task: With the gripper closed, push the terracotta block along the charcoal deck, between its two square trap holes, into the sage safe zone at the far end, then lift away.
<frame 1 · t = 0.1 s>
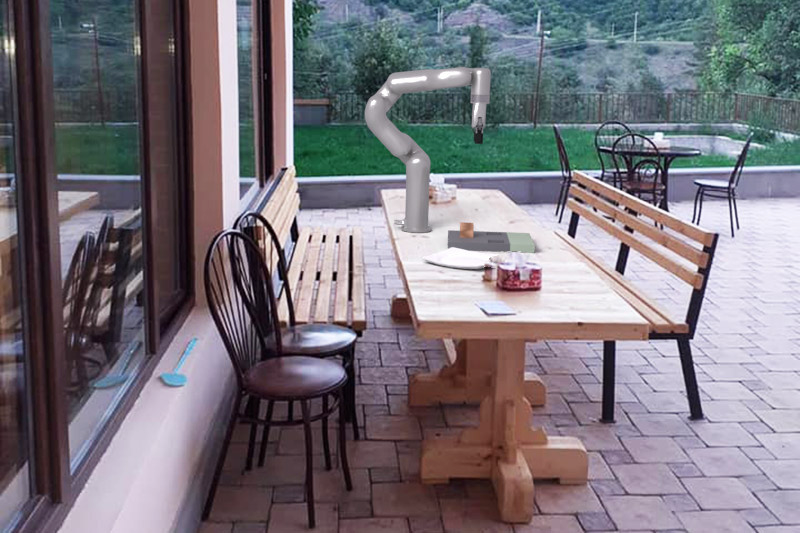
hand: (478, 142, 365), 37 cm above the table, tool pointing down, fingers open, 9 cm apart
plate: (464, 264, 316), on the table
terracotta block: (466, 236, 347), point 3 cm above the table, touching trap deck
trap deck: (489, 245, 348), on the table
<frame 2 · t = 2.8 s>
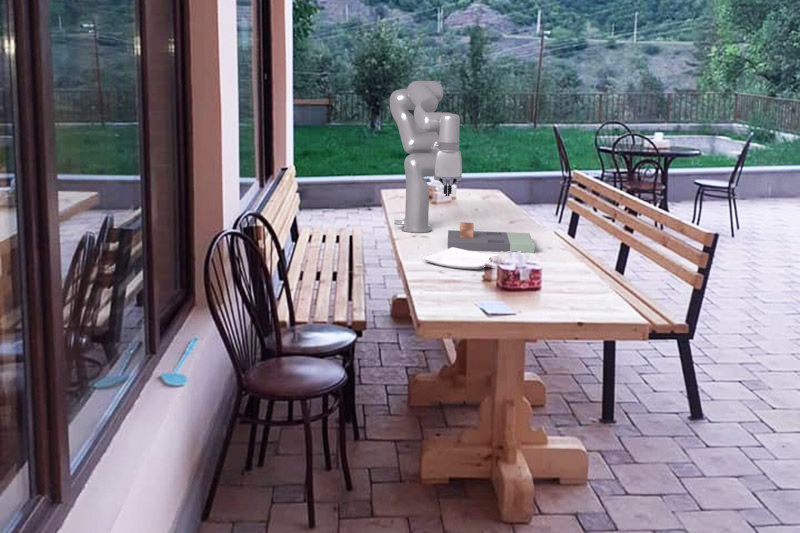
hand: (447, 195, 344), 19 cm above the table, tool pointing down, fingers closed
nothing on the table moved.
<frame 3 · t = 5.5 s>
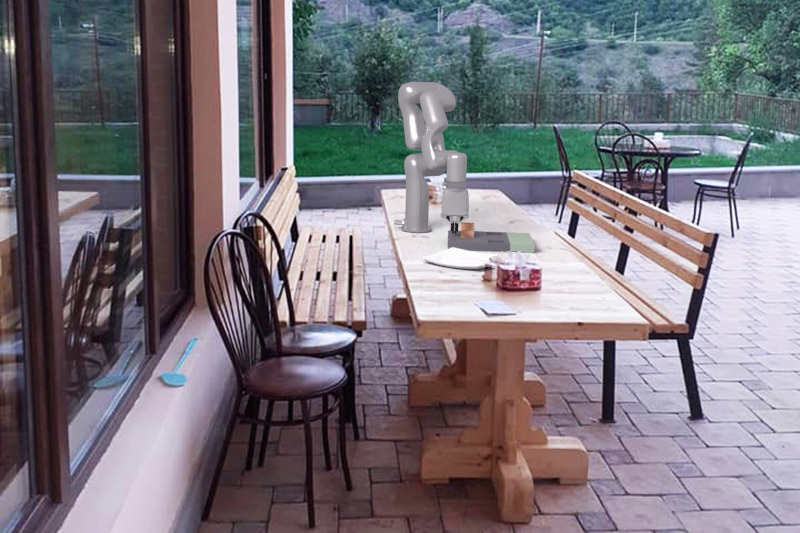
hand: (454, 233, 347), 4 cm above the table, tool pointing down, fingers closed
terracotta block: (467, 236, 347), point 3 cm above the table, touching gripper, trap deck
everything else where it was.
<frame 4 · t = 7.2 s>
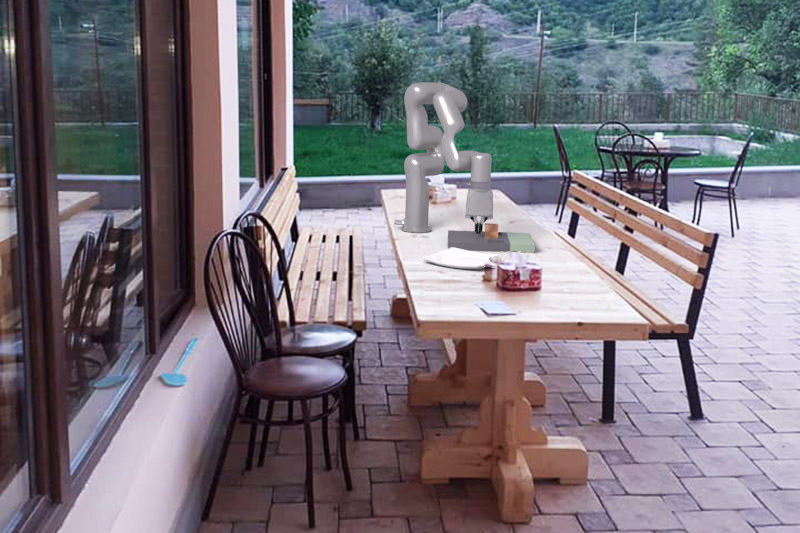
hand: (478, 233, 347), 4 cm above the table, tool pointing down, fingers closed
terracotta block: (491, 237, 347), point 3 cm above the table, touching gripper, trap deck
everything else where it was.
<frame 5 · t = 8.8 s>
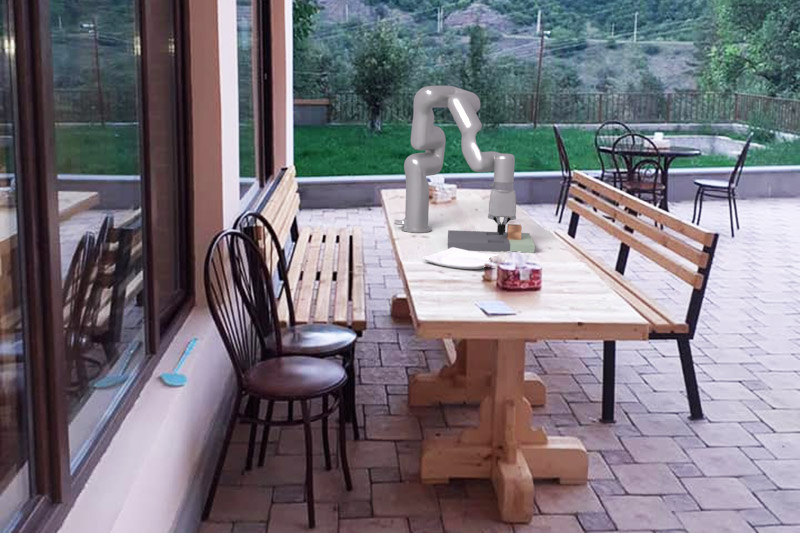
hand: (501, 234, 346), 4 cm above the table, tool pointing down, fingers closed
terracotta block: (513, 238, 346), point 3 cm above the table, touching gripper, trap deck
everything else where it was.
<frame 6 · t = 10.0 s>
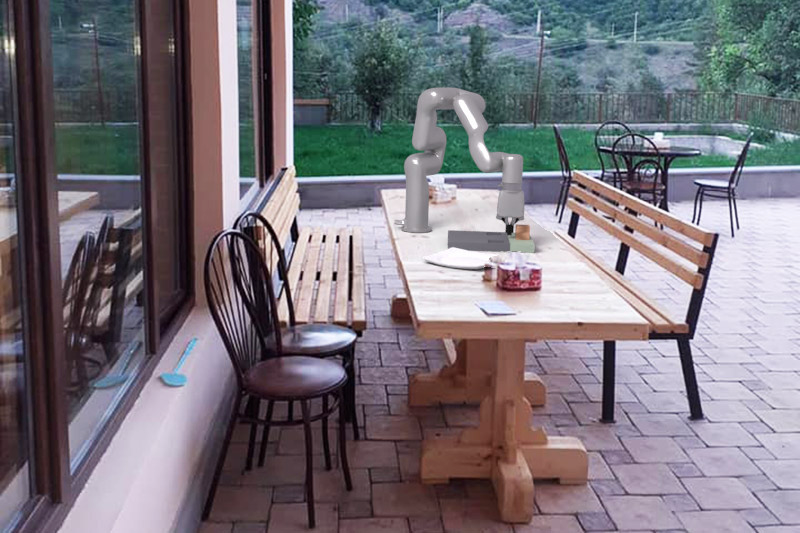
hand: (509, 234, 346), 4 cm above the table, tool pointing down, fingers closed
terracotta block: (522, 238, 346), point 3 cm above the table, touching gripper, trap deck
everything else where it was.
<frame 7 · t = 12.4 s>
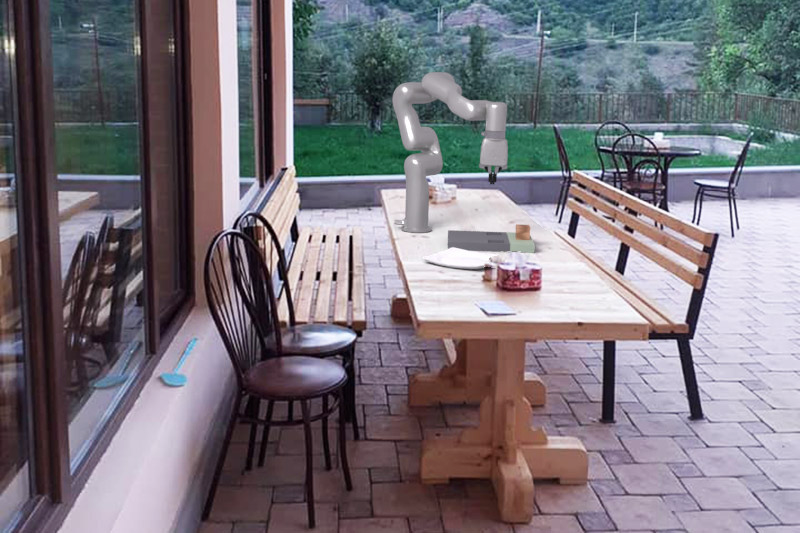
hand: (492, 183, 345), 23 cm above the table, tool pointing down, fingers closed
terracotta block: (522, 238, 346), point 3 cm above the table, touching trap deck
everything else where it was.
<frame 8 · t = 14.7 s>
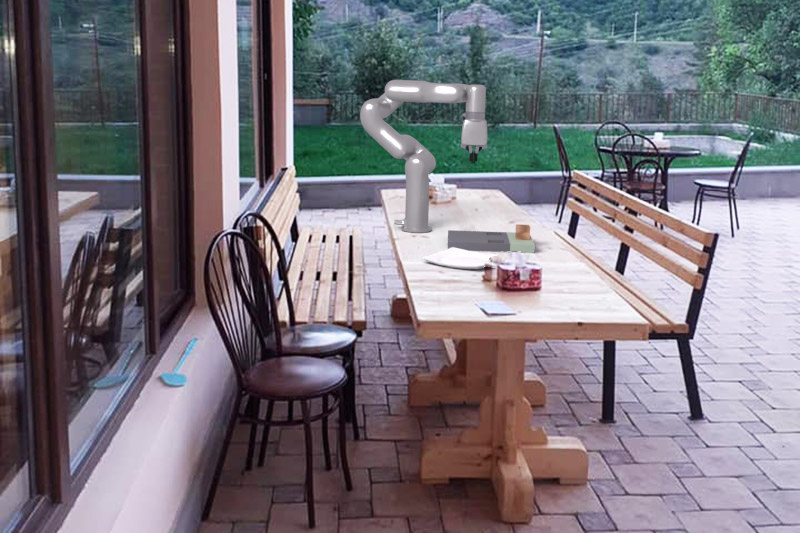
hand: (473, 163, 361), 29 cm above the table, tool pointing down, fingers closed
nothing on the table moved.
at the end: terracotta block inside the target area (0.7 cm from its centre), point 3.0 cm above the table; terracotta block tilted 0°; the gripper is holding nothing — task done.
